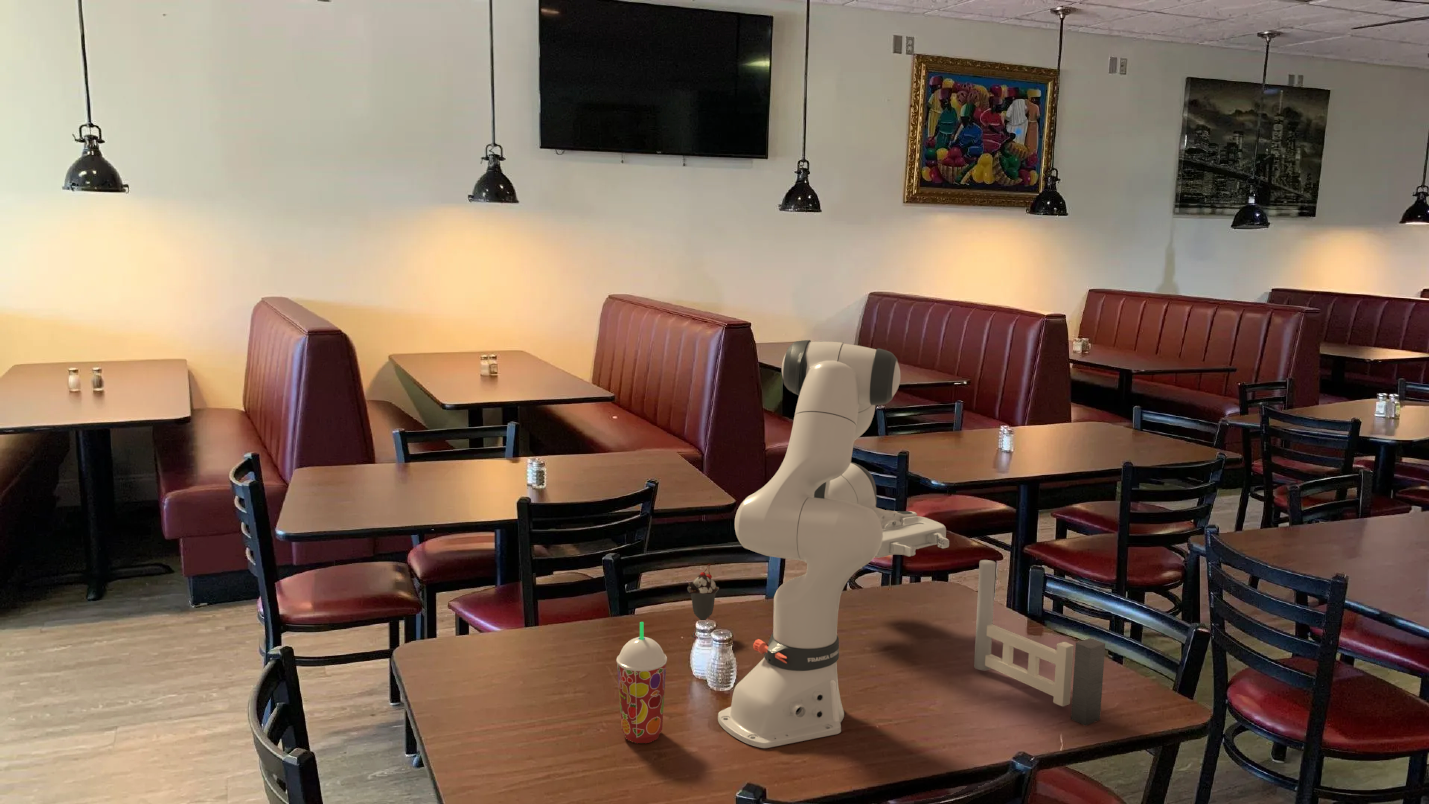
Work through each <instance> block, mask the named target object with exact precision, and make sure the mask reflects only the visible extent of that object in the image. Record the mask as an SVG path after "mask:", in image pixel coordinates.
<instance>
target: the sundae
mask: <svg viewBox="0 0 1429 804" xmlns="http://www.w3.org/2000/svg"><path fill="white" fill-rule="evenodd" d="M711 565H712V564H711V563H708V564H707V566H706V569H705V570H704V571H702V572H700V573H699V575H697V576H696V577H695V578H694V580H693V581H690V582H688V586H687V588H686V589H687V592H688V594H689V595H690V596H691V605H692V611H693V614H694V615H695V617H697V618H698V619H699V621H700V620H706V621H707V619H708V618H710V616H711V615H712V614H713V611H714V605H715V600H716V599H715V598H716V594H717V593H718V591H719V590H720V587H719V586H717V585H716V582H715V581H714V580H713V579H712V578H713V576H712V574H711V573H710V571H708V573H707V574H706V573H705V572H706V571H707V570H708V569H709V567H710V566H711ZM692 632H693V631H692ZM692 637H693V638H695V637H694V632H693V636H692Z"/></svg>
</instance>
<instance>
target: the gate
mask: <svg viewBox="0 0 1429 804" xmlns="http://www.w3.org/2000/svg"><path fill="white" fill-rule="evenodd" d="M978 565H979V567H978V581H977V582H978V583H977V584H978V585H977V586H978V587H977V605H976V622H975V623H976V624H975V642H974V643H975V644H974V660H973V661H974V662H973V663H974V665H973V667H974V668H975V669H976V670H979V671H989V670H990V669H992V670H994V671H996V672H999V673H1001V674H1003V675H1005V676H1008V677H1010V678H1011V679H1015V680H1016V681H1018V682H1020V683H1023V684H1025V685H1027V686H1030V687H1032V688H1034V689H1036V690H1038V691H1041V692H1043V693H1045V694H1048V695H1050V696H1051V697H1053V698H1052V699H1053V701H1052V702H1053V704H1055V705H1058V706H1060V707H1066V706H1067V705H1070V704H1071V690H1072V677H1073V675H1072V674H1073V661H1074V647H1075V645H1074V644H1071V643H1070V642H1067V641H1062V642H1061V641H1060V642H1059V643H1056V649H1055V648H1052V647H1050V646H1048V645H1045V644H1042V643H1040V642H1038V641H1035V640H1033V639H1030V638H1027V637H1025V636H1023V635H1021V634H1018V633H1015V632H1012V631H1010V630H1008V629H1005V628H1003V627H1000V626H999V625H996V624H993V620H994V619H993V618H994V605H995V604H994V602H995V601H994V600H995V586H996V585H995V583H996V582H995V581H996V567H997V566H996V565H997V563H996V561H994V560H991V559H990V560H988V559H980V560H979V562H978ZM993 640H996V641H998V642H1000V643H1002V657H999V656H997V655H994V654H993V653H992V642H993ZM1014 648H1015V649H1017V650H1020V651H1022V652H1024V653H1028V660H1027V661H1028V662H1027V668H1024V667H1022V666H1020V665H1018V664H1015V663H1013V662H1014ZM1040 659H1041V660H1044V661H1046V662H1049V663H1050V664H1052V665H1054V667H1055V669H1054V680H1052V679H1050V678H1047V677H1045V676H1043V675H1040V674H1039V673H1040Z"/></svg>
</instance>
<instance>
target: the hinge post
mask: <svg viewBox="0 0 1429 804" xmlns="http://www.w3.org/2000/svg"><path fill="white" fill-rule="evenodd" d="M1105 653H1106V643H1104V642H1102V641H1100V640H1096V639H1094V638H1092V637H1089V638H1086V639H1083V640H1081V641H1078V642H1075V650H1074V665H1073V681H1072V695H1071V709H1070V711H1071V712H1070V720H1072V721H1074V722H1076V723H1079V724H1081V725H1083V726H1085V727H1086V726H1089V725H1090V724H1093V723H1096V722H1098V721H1100V720H1101V710H1102V708H1101V707H1102V697H1103V695H1102V694H1103V682H1104V667H1105Z"/></svg>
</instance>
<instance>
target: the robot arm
mask: <svg viewBox="0 0 1429 804" xmlns="http://www.w3.org/2000/svg"><path fill="white" fill-rule="evenodd" d="M781 375H782V379H783V382H782V383H783V385H784V386H785V388H786V389H787V390H788V391H789V392H790V393H793V394H795V395H797V396H798V398H797V403H796V406H795V412H794V417H793V423H792V428H791V433H790V437H789V441H788V446H787V449H786V453H785V456H784V458H783V461H782V462H781V464H780V466H779V468H778V470H777V471H776V472H775V474H774V475H773V477H771V479H769V481H768V482H767V483H766V484H764V486H762V487H761V488H759V489H758V490H756V491H755V492H754V493H752V494H750V495H748V496H746V497H745V499H743V501H742V502H741V503H740V505H739V506H738V507H737V508H738V509H737V510H736V514H735V518H734V530H735V535H736V538H737V540H738V542H739V543H740V545H741V546H742V547H743V548H744V549H745V550H750V551H752V552H755V553H757V554H761V555H763V556H766V557H773V558H781V559H787V560H794V561H795V560H796V561H802V562H804V563H806V573H804V574H802V575H800V576H796V577H794V578H790V579H789V580H787V581H785V582H783V583H782V584H781V585H780V586H779V587H778V588H777V589H776V592H775V593H774V596H773V618H772V619H773V623H772V624H773V625H772V627H773V630H772V631H773V632H772V633H771V635H770V637H769V640H768V643H767V642H765V641H763V640H762V639H759V638H757V639H755V641H754V643H753V644H752V647H753V650H754V651H756V652H759V654H761V655H763V658H762V659H761V660H760V661H759V662H758V663H757V664H756V666H754V667H753V668H752V669H751V670H750V671H749V672H748V673H747V674H746V675H745V676H744V677H743V678H742V679H741V680H740V681H739V682H738V683H737V684H736V685H735V687H734V690H733V693H732V698H731V699H732V700H731V705H730V706H728V707H727V708H723V709H722V710H720V711H719V712H718V714H717V721H718V722H717V723H718V724H719V725H720V727H721V728H722V729H723V730H724V731H725V732H726V733H728V734H729V735H731V736H732V737H733V738H735V739H737V740H739V741H741V742H742V743H745V744H746V745H750V746H753V747H757V748H760V749H768V748H775V747H779V746H784V745H788V744H794V743H799V742H803V741H804V742H805V741H809V740H814V739H819V738H824V737H829V736H834V735H838V734H840V733H841V732H842V725H841V723H842V721H843V719H844V717H845V710H844V708H843V705H842V700H841V695H840V690H839V681H838V679H839V678H838V669H837V668H838V666H837V663H838V662H837V661H838V660H839V658H840V638H839V636H838V633H837V632H838V618H839V608H840V601H841V595H842V593H843V590H844V589H845V586H846V584H847V582H848V581H849V580H850V579H851V577H852V576H853V575H854V574H855V573H857V571H858V570H860V569H862V568H863V567H864V566H867V565H868V564H869V563H871V562H872V561H873V560H874V558H880V559H881V558H885V557H889V556H893V555H902V556H906V557H913V556H915V555H916V550H919V549H923V548H927V547H931V546H935V545H937V547H938V548H941V549H946V548H949V547H950V540H949V539H948V538H947V528H946V526H945V525H944V524H943V523H941V522H938V521H937V520H933V519H931V518H929V517H924V516H919V515H918V513H917V512H915V511H911V510H909V511H908V510H905V511H904V510H903V511H901V510H900V511H895V510H890V509H886V510H885V509H882V508H879V507H877V503H878V502H877V501H878V500H877V499H878V498H877V485H876V482H875V480H874V476H873V475H872V473H871V472H870V471H868V469H866V468H865V467H863V466H862V465H860V464H857V463H856V462H852V456H853V450H854V445H855V444H854V443H855V441H856V440H857V439H859V438H860V437H861V436H863V434H864V433H866V431H867V430H868V429H869V427H870V426H871V424H872V421H873V418H874V415H875V411H876V406H880V405H886V404H888V403H889V402H891V401H892V400H893V398H894V396H895V394H896V393H897V391H898V389H899V386H900V385H901V384H900V383H901V369H900V365H899V361H898V358H897V357H896V356H895V355H894V353H893V352H891V351H888V350H887V349H883V348H879V347H878V348H877V349H875V348H871V347H867V346H862V345H858V344H857V345H856V344H850V343H845V342H842V341H841V342H840V341H811V340H810V339H807V340H806V339H805V340H802V339H801V340H796V341H794V342H793V343H792V344H790V345H789V346H788V347H787V348H786V352H785V354H784V355H783V359H782V363H781Z"/></svg>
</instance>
